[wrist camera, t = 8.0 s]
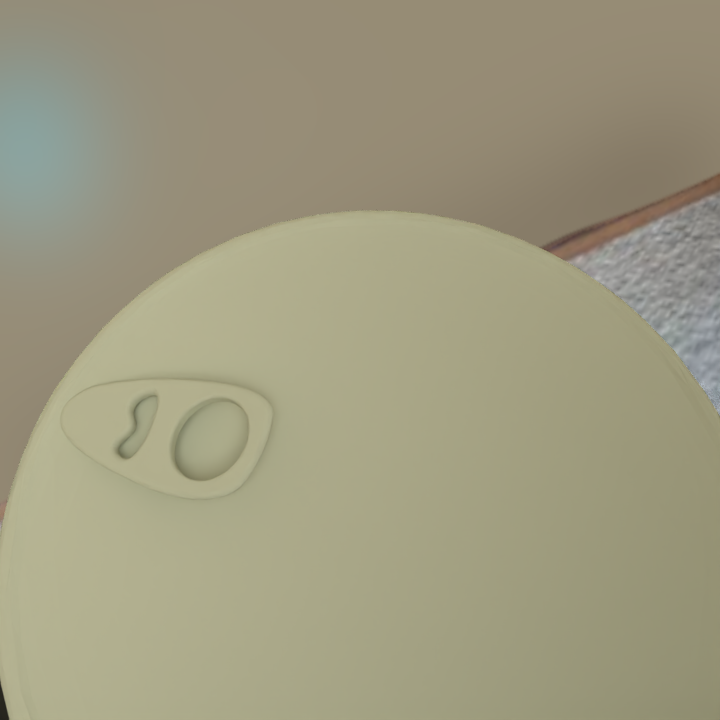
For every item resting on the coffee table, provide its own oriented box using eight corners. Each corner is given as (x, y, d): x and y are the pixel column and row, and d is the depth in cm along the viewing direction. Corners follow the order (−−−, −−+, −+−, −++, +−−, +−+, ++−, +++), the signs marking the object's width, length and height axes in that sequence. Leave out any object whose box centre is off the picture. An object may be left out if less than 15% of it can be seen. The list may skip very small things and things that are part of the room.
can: (258, 410, 20) (179, 115, 10) (546, 497, 20) (811, 281, 9) (128, 733, 17) (-246, 845, 6) (482, 859, 16) (823, 1266, 5)
